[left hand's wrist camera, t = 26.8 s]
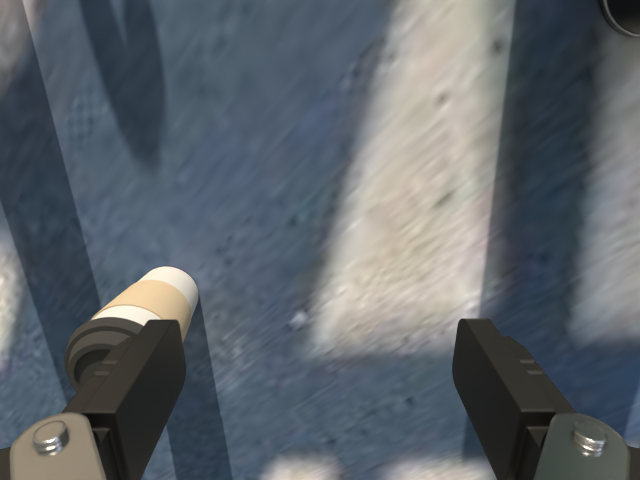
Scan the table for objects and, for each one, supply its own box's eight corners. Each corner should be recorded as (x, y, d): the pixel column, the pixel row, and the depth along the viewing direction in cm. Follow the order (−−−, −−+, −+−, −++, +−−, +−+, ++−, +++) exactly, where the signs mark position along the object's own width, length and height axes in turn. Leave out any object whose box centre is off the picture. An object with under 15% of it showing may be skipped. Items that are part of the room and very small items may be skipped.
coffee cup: (124, 315, 48) (44, 409, 34) (136, 247, 45) (54, 320, 31) (199, 335, 49) (151, 434, 35) (216, 271, 46) (171, 351, 32)
